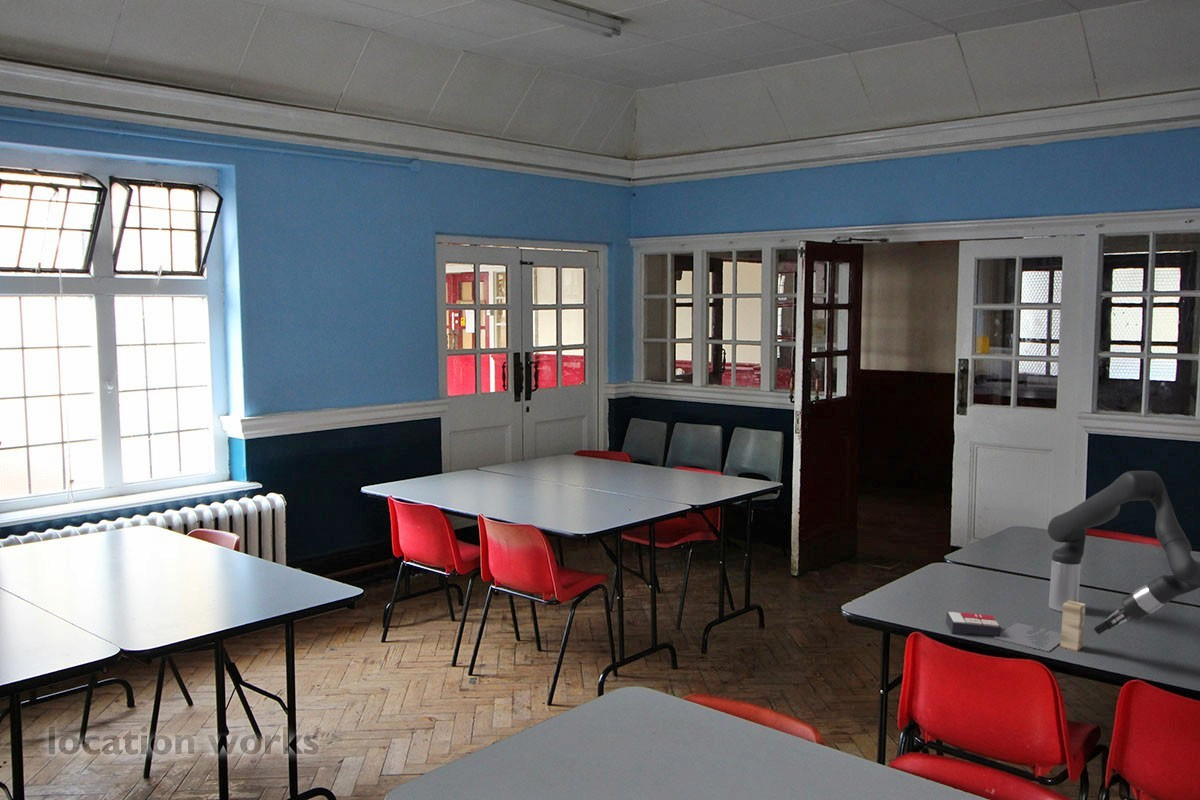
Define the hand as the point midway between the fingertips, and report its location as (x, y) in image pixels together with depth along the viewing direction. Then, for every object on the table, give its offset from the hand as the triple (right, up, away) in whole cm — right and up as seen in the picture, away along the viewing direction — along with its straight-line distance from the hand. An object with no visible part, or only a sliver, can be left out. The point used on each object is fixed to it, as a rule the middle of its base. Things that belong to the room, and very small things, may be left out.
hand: (1096, 631), depth 301 cm
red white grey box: (-31, -4, +20) cm, 37 cm away
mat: (-14, -5, +14) cm, 20 cm away
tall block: (-5, -6, +5) cm, 10 cm away
